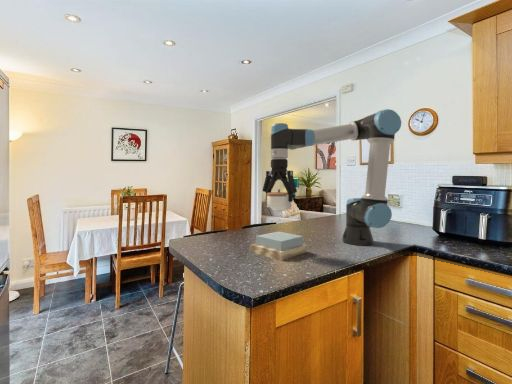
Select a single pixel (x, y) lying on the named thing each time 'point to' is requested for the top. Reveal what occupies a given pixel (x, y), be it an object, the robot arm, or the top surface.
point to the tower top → (279, 240)
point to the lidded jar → (277, 200)
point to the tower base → (277, 251)
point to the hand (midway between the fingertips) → (278, 208)
